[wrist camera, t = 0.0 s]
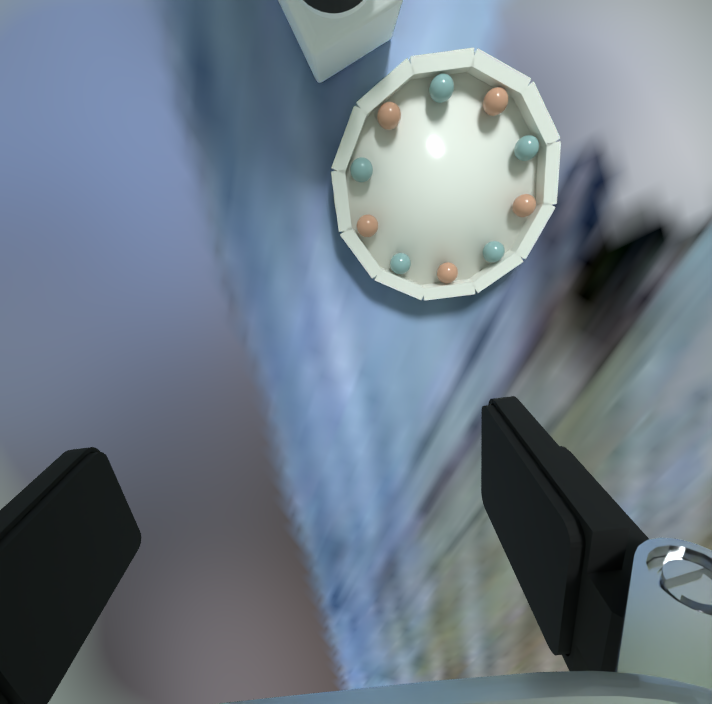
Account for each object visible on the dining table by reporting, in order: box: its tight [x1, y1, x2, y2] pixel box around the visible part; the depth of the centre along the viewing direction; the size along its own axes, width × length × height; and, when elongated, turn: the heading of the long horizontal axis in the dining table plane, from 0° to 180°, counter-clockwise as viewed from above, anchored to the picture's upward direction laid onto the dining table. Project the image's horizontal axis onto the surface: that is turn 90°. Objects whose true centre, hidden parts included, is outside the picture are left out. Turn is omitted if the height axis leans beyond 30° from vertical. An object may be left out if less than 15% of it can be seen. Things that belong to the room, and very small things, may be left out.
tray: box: [331, 48, 561, 301], centre depth 35 cm, size 20×20×3 cm
